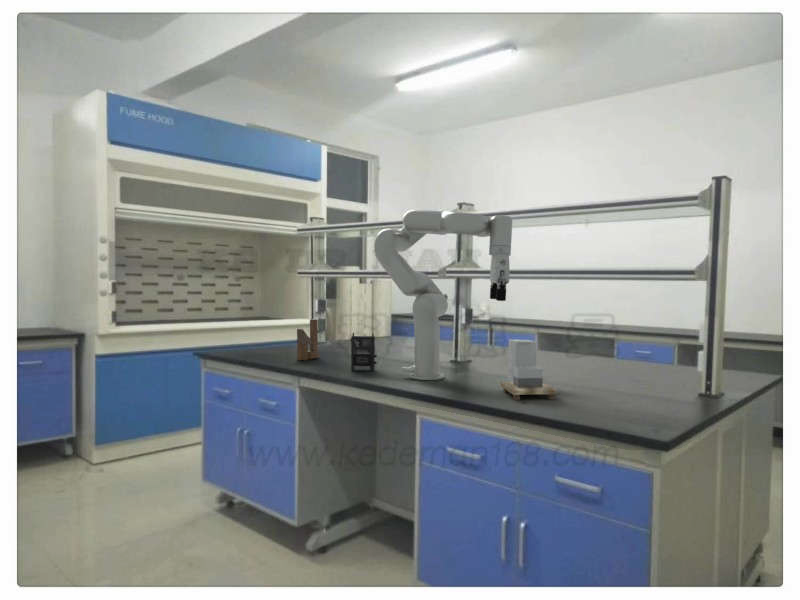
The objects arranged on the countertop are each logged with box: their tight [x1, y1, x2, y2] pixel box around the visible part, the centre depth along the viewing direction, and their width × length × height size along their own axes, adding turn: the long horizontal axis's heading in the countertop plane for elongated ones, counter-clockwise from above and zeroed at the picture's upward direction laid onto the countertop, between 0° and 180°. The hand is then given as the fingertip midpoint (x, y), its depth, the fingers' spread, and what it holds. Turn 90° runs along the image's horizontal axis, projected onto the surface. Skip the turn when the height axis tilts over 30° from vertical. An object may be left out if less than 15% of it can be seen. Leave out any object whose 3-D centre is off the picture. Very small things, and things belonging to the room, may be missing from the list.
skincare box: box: [507, 339, 537, 382], centre depth 200 cm, size 8×7×16 cm
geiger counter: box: [350, 332, 377, 372], centre depth 226 cm, size 10×4×15 cm, turn 84°
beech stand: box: [500, 381, 558, 401], centre depth 181 cm, size 14×14×3 cm
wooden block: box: [296, 318, 320, 361], centre depth 254 cm, size 4×11×18 cm, turn 144°
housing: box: [513, 365, 544, 388], centre depth 181 cm, size 5×8×6 cm, turn 96°
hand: (497, 299), depth 198 cm, fingers open, 9 cm apart
